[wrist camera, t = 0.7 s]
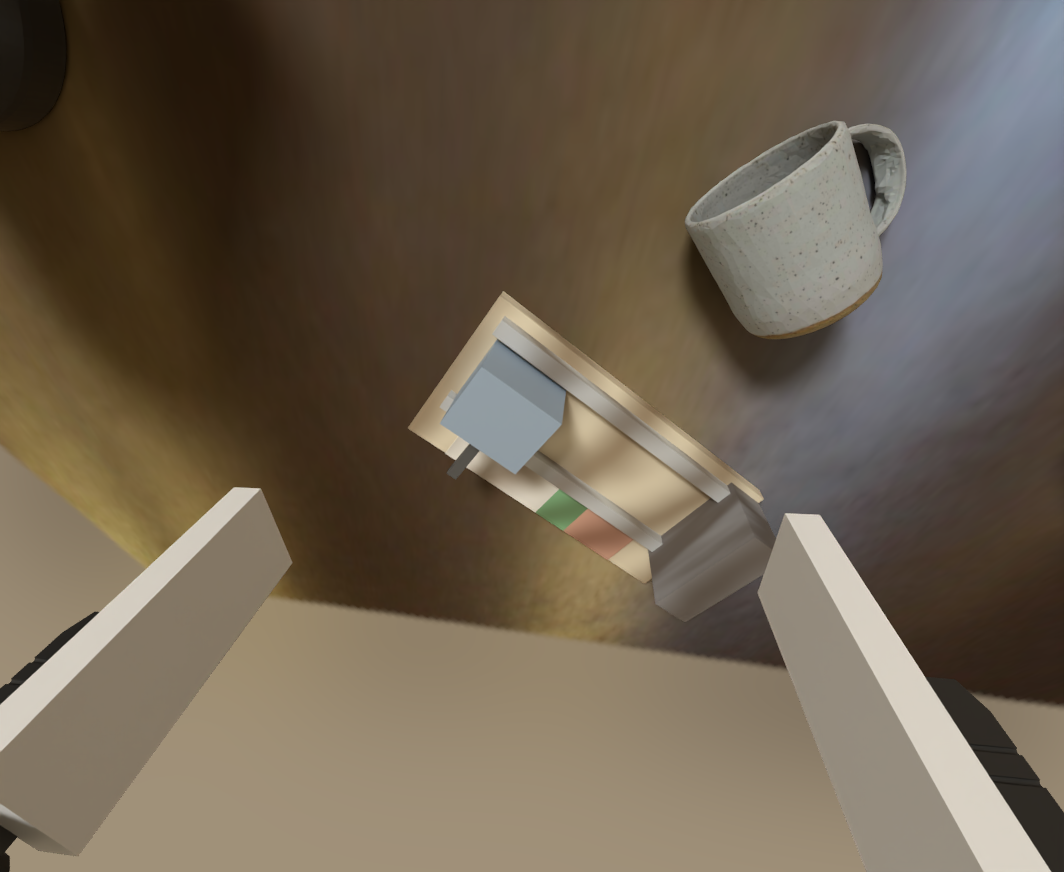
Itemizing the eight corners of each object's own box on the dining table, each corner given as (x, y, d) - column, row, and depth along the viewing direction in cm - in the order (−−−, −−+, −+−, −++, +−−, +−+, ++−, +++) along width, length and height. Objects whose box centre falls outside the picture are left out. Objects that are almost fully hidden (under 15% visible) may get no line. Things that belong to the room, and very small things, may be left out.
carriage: (431, 429, 35) (408, 465, 31) (497, 339, 31) (481, 366, 27) (494, 471, 37) (480, 511, 32) (566, 390, 32) (561, 424, 28)
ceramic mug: (733, 326, 30) (775, 369, 23) (671, 216, 27) (699, 230, 20) (910, 219, 26) (1021, 235, 19) (859, 77, 23) (969, 39, 17)
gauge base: (413, 420, 37) (376, 472, 30) (503, 291, 31) (480, 322, 24) (643, 573, 42) (651, 643, 36) (759, 489, 36) (792, 556, 30)
